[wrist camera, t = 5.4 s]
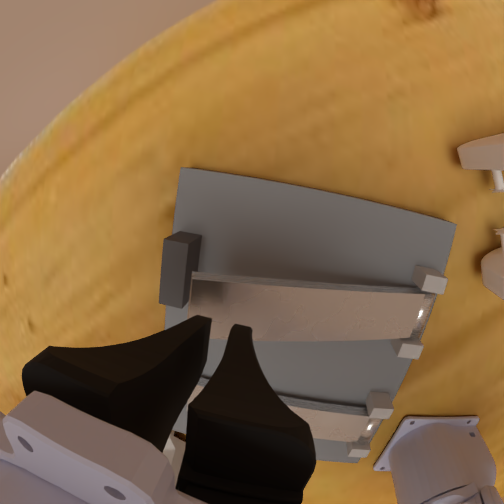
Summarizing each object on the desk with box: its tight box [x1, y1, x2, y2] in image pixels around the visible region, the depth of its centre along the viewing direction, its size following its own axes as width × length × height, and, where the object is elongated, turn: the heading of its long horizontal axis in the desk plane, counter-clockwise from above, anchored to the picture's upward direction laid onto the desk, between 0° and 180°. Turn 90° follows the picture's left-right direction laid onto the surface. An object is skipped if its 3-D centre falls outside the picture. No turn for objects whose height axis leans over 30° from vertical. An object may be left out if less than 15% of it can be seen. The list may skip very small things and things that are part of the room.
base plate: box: [159, 167, 457, 463], centre depth 21 cm, size 18×22×5 cm
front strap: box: [187, 271, 435, 341], centre depth 17 cm, size 15×3×1 cm, turn 80°
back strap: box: [187, 377, 382, 445], centre depth 21 cm, size 15×3×1 cm, turn 81°
